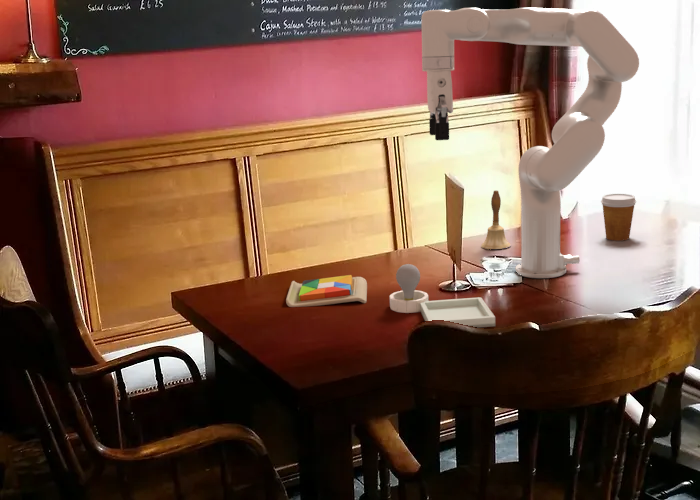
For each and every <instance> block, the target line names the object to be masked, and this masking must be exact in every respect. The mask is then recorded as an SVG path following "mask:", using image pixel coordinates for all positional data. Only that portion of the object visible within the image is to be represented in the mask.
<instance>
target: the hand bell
mask: <svg viewBox="0 0 700 500" xmlns="http://www.w3.org/2000/svg"><path fill="white" fill-rule="evenodd" d="M501 203H502V202H501V196H500V194H499V190H493V194H492V195H491V203H490V205H491V211H492V224H491V226H489V227H488V228H487V233H486V238H485V239H484V241H483V242H482V243H481V245H480V247H481V248H482V249H484V250H489V249H490V251H491V249H502V248H506V247H509V246H510V245H511V243H510V242H509V241H508V239H507V238H506V235H505V228H504V227H503V226H501V225H500V224H499V223H500V213H499V212H500V209H501V205H502V204H501ZM502 250H503V249H502Z"/></svg>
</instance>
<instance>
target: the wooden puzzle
mask: <svg viewBox="0 0 700 500" xmlns="http://www.w3.org/2000/svg"><path fill="white" fill-rule="evenodd" d="M367 294H368V283H367V280H366V279H365V278H364V277H362V276H352V274H348V275H340V276H333V277H323V278H314V279H306V280H303V281H302V283H299V282H296V281H295V280H292V281H291V283H290V286H289V289H288V292H287V295H286V299H285V302H286V305H287V306H288V307H290V308H296V307H297V308H299V307H301V308H302V307H317V306H325V305H326V306H327V305H335V304H342V303H351V302H360V303H362V304H366V303H367V296H368V295H367Z"/></svg>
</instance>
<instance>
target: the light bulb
mask: <svg viewBox="0 0 700 500" xmlns="http://www.w3.org/2000/svg"><path fill="white" fill-rule="evenodd" d="M395 279H396V283H397V284H398V286H399V287H400V289H401V291H403V292H404V300H405V301H410V300H414V290H416V289H417V287H418V285H419V283H420V280H421V273H420V270H419V268H417V266H416V265H413V264H410V263H406V264H403V265H401V266H400V267H399V268H398V269H397V271H396V274H395Z"/></svg>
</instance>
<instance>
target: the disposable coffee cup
mask: <svg viewBox="0 0 700 500" xmlns="http://www.w3.org/2000/svg"><path fill="white" fill-rule="evenodd" d="M600 203H601V205H602V212H603V213H602V214H603V221H604V230H605V231H604V232H605V238H606V240H610V241H616V242H617V241H618V242H620V241H627V240H629V239H630V235H631V229H632V223H633V217H634V210H635V205H636V203H637V201H636V198H635V196H634V195H632V194H627V193H609V194H604V195H603V196H602V199H601V200H600Z"/></svg>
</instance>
